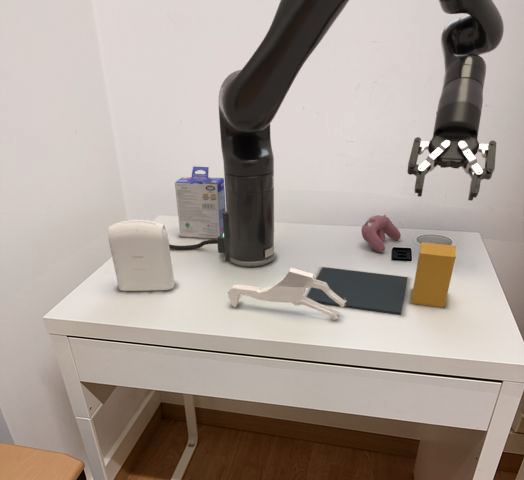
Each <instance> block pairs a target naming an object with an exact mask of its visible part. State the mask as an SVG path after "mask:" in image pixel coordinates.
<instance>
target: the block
mask: <svg viewBox="0 0 524 480" xmlns="http://www.w3.org/2000/svg"><path fill="white" fill-rule="evenodd" d="M456 255H457V254H456V245H455V244H453V245H452V244H443V243H436V242H435V243H433V242H426V241H425V242H423V241H421V243H420V247H419V253H418V259H417V264H416V271H415V276H414V282H413V287H412V293H411V300H410V304H413V305H422V306H429V307H435V308H436V307H437V308H445V306H446V301H447V297H448V293H449V290H450V289H449V288H450V284H451V280H452V275H453V272H454V271H453V270H454V267H455V262H456Z"/></svg>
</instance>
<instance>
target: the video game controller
mask: <svg viewBox="0 0 524 480" xmlns="http://www.w3.org/2000/svg"><path fill="white" fill-rule="evenodd" d="M360 230H361V236H362V238H363V240H364V241H366V242H367V244H368V245H369V246H370V248H372V249H373V250H374V251H375V252H377V253H383V252H384V251H385V250H386V246H385V243H384V241H385V240H386V236H388V237H389V238H390V239H392V240H394V241H398V240H401V238H402V234H401V232H400V230H399V228H397V226H396V225H395V224H394V223H393V222H392V221H391V219H390V217H388V216H387V215H386V214H383V215H382V214H376V215H373V216H371V217H369V218H368V219H367V220H366V222H365V223H364V224H363V225H362V226H361V229H360Z"/></svg>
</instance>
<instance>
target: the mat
mask: <svg viewBox="0 0 524 480" xmlns="http://www.w3.org/2000/svg"><path fill="white" fill-rule="evenodd" d="M315 279H316V280H319V281H323V282H326V283H327V285H328V287H329V288H330V289H331V290H332V291H333V292H334V293H335V294H337V295H338V296H339V297H340V298H342V299H343V300H344V299H345V300H347V301H346V302H345V304H344V305H345V306H344V307H343V308H351V309H359V310H365V311H371V312H379V313H386V314H393V315H400V316H401V315H402V310H403V306H404V305H403V304H404V298H405V292H406V287H407V282H408V276H401V275H393V274H383V273H377V272H376V273H375V272H368V271H367V272H366V271H359V270H352V269H351V270H350V269H343V268H342V269H341V268H335V267H327V266H322V267H321V269H320V271H319V273H318V274H317V276H316V278H315ZM306 297H308V298H310V299H311V300H313V301H315V302H317V303H320V304H322V305H329V306H336V307H339V306H340V305H339V304H338V303H336V302H335V301H334V300H332V299H331V298H330V297H329V296H328V295H327V294H326V293H325V292H324V291H323V290H321V289H318V288H312V287H310V289H309V290H308V293H307V295H306ZM340 307H341V306H340Z"/></svg>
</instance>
